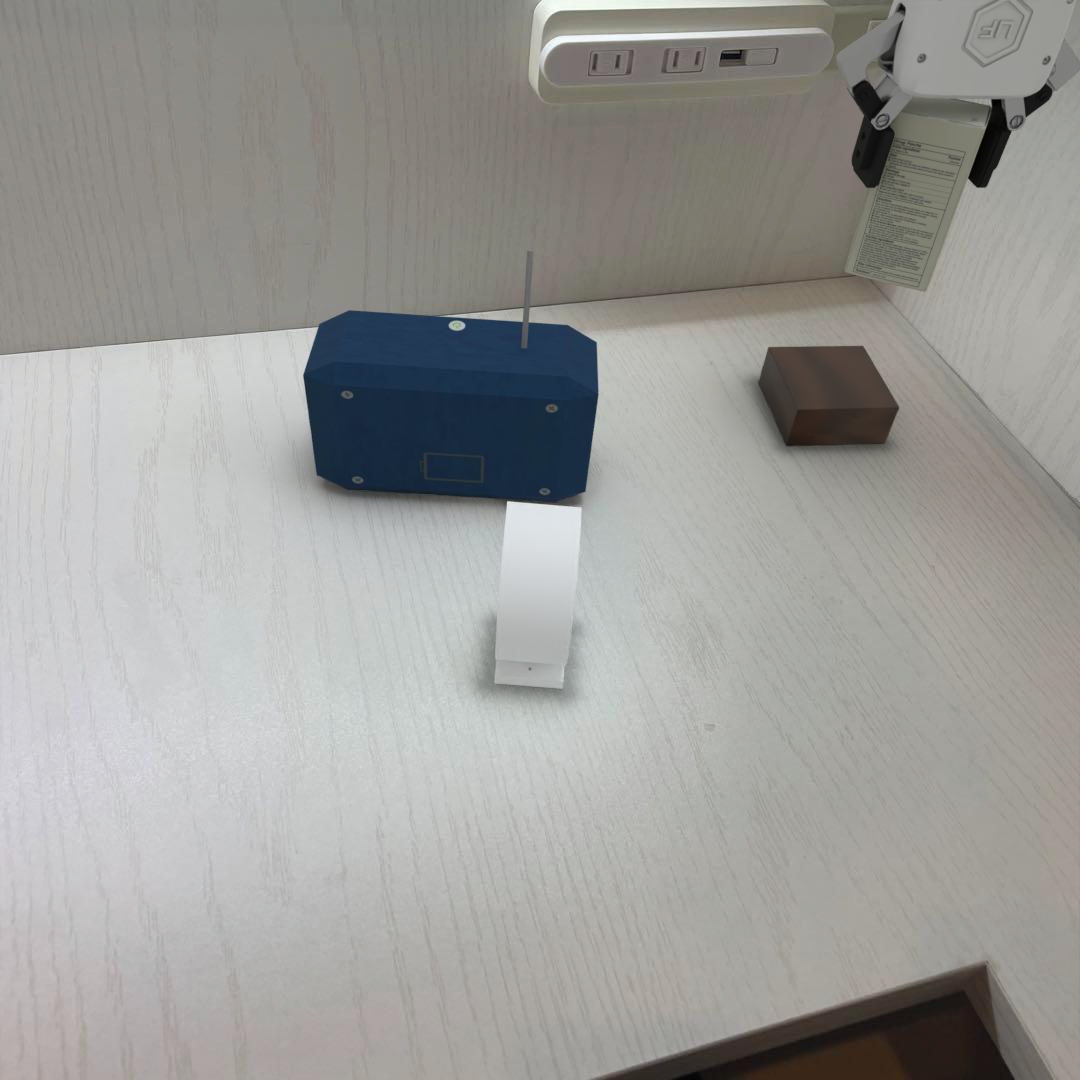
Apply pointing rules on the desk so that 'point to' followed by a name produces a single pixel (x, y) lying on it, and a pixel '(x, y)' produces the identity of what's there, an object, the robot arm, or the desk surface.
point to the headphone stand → (537, 594)
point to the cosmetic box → (917, 191)
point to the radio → (453, 405)
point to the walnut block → (827, 395)
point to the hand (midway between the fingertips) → (919, 177)
